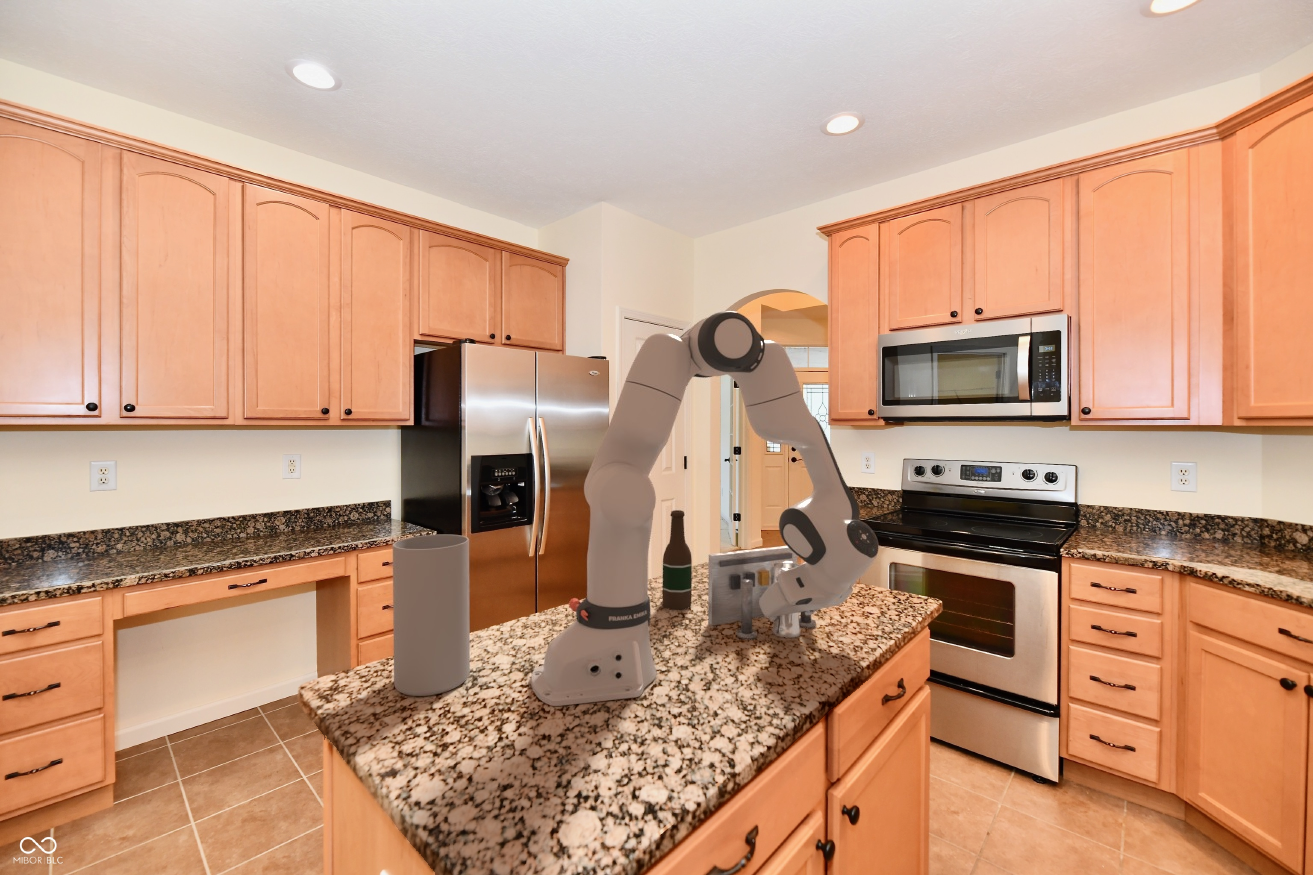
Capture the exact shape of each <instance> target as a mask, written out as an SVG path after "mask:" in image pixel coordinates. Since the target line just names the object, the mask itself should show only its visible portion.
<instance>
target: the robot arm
mask: <svg viewBox="0 0 1313 875" xmlns="http://www.w3.org/2000/svg"><path fill="white" fill-rule="evenodd" d="M726 375H728V376H729V377H731V379H733V380H734V382H735V383H736V385H737V386H738V388H739V390H740V393H741V397H742V401H743V404H744V409H745V411H746V412H745V413H746V416H747V418H748V423H749V424H750V426H751V428H752V430H753V432H754V433H755V435H757V436H758V437H760V438H761V439H763V440H765V441H766V442H769V443H771V444H772V443H773V444H777V445H785V446H790V447H792V448H794V449H795V450H796V451H797V452H798V453H799V455H800V457H801V459H802V462H803V463H804V465H805V468H806V471H807V473H808V476H809V478H810V481H811V483H812V493H811V494H810V495H809V496H808V497H806V498H804V499H803V500H800V501H798V502H796V503H795V504H793V505H791V506H790V507H788V508H787V509H785V510H783V511H782V513H781V515H780V517H779V521H778V528H779V533H780V537H781V539H782V541H783V542H784V544H785V546H788V547H789V548H790V549H791V550H792V551H793V552H794V553H795V554H796V555H797V557H798V558H800V559H801V560H802V561H803V563H801V565H799V566H797V567H795V568H792V569H789V570H786V571H783V572H781V573H780V574H779V575H778V576H777V579H778V581H776V582H775V583H773V584H772V585H771V586H770V587H769V588H768V589H767V590H766V591H765V593H764V594H763V595H762V597H761V598H760V600H759V605H760V607H761V610H762V612H763V614H764V615H765V617H764V618H767V619H768V621H769V622H774V621H777V620H778V619H779V618H780V617H779V616H780V615H786V614H792V613H798V612H803V611H804V612H805V614H806V615H811V616H812V615H814V614H815V613H816V612H817V611H820V610H821V609H825V608H831V607H832V608H833V607H837V606H840V605H841V604H842V605H843V603H845V602H846V601H847V599H848V598H849V597H850V596H851V595H852V593H853V592H854V591H853V590H854V589H853V587H854V585H855V584H857V582H858V580H859V579H860V578H862V576H864V574H865V573H867V571H868V570H869V569H870V568H871V566H872V565H873V564H874V562H875V561H876V558H877V556H878V552H879V540H878V537H877V536H876V534H875V532H874V531H873V529H872V528H871V527H870V526H869V525H868V524H867V523H866V522H864V521H861V520H860V517H861V516H860V514H861V513H860V506H859V502H858V500H857V498H856V497H855V495H854V494H853V492H852V491H851V489H850V487H849V486H848V484H847V483H846V480H845V479H844V476H843V474H842V473H841V470H840V468H839V465H838V462H837V460H836V459H837V458H836V457H835V454H834V452H833V450H832V447H831V444H830V442H829V440H828V438H827V435H826V433H825V430H824V429H823V426H822V424H821V423H820V422H819V420H818V419H817V418H816V417H815V416H814V415H813V414H812V413H811V412H810V409H809V408H808V405H807V404H806V403H807V402H806V401H805V398H804V395H803V392H802V389H801V385H800V383H799V379H798V376H797V373H796V371H795V368H794V366H793V364H792V362H791V359H790V358H789V355H788V354H787V351H786V350H785V348H784V346H783V345H782V344H780V343H779V342H778V341H772V340H765V338H764V337H763V335H762V334H761V333H760V332H758V331H757V329H756V327H755V326H754V324H753V323H752V321H751V320H750V319H749V318H747V317H746V316H745V315H743V314H742V313H740V312H737V311H731V310H729V311H728V310H727V311H720V312H716V313H713V314H712V315H709V316H708V317H705V318H702V319H701V320H699V321H698V322H697V323H695V324H694V325H693V326H692V327H690V328H689V329H687V330H686V331H685V332H684V333H683V334H681V336H677V335H674V334H671V333H665V332H661V333H660V332H659V333H654V334H652V335H650V336H648V337H647V338H646V339H645V340H644V342H643V344H642V345H641V347H640V349H639V350H638V352H637V354H636V356H635V358H634V360H633V362H632V364H631V366H630V368H629V371H628V373H627V375H626V378H625V380H624V383H623V386H622V389H621V392H620V395H619V398H618V400H617V403H616V406H615V408H614V412H613V414H612V417H611V419H610V422H609V425H608V427H607V429H606V431H605V434H604V435H603V438H602V439H601V443H600V445H599V447H598V448H597V450H596V453H595V455H594V458H593V459H592V460H593V461H592V463H591V466H590V467H589V470H588V473H587V476H586V477H585V481H584V483H583V485H584V486H583V492H584V493H583V494H584V496H585V500H586V502H587V503H588V505H589V511H590V512H589V513H590V516H589V533H588V534H589V535H588V547H587V548H588V549H587V554H586V555H587V556H586V568H587V569H586V594H587V595H586V597H585V598H584V599H583V600H582V601H581V602H580V600H579V599H578V598H576V597H574V598H571V599H570V601H569V602H568V607H569V608H570V609H571V611H572V612H574V613H576V619H575V621H573V622H571V624H570V625H569V626H568V627H567V628H565V629H564V630H562V631H561V632H560V633H559V634H558V635H557V636H556V637H555V638H553V639H552V640H551V641H550V642H549V644H548V645H547V648H546V651H545V655H544V662H543V665H540V666H537V667H535V668H534V669H533V671H532V674H531V677H530V678H531V679H530V685H531V689H532V691H533V692H534V694H535V696H536V697H537V698H538V699H539V700H540V701H541V702H543V703H544V704H547V705H549V706H552V707H560V706H570V705H577V704H588V703H595V702H605V701H614V700H622V699H631V698H637V697H640V696H641V695H643V693H644V689H646V687H647V686H648V685H649V684H651V683H652V682H653V681H655V678H656V677H657V670H656V665H655V662H654V659H653V654H652V648H651V639H650V631H649V627H650V626H651V612H652V611H651V599H650V596H649V595H648V590H649V589H648V588H649V587H648V584H649V583H648V582H649V581H648V580H649V579H648V578H649V577H648V575H649V574H648V570H649V569H648V568H649V567H648V565H649V564H648V561H649V560H648V559H649V548H650V542H651V537H652V536H651V535H652V528H653V520H654V511H655V508H656V503H657V502H656V500H657V498H656V491H655V487H654V484H653V482H652V480H651V478H650V476H649V475H650V474H651V471H652V469H653V467H654V465H655V464H656V461H657V460H658V457H659V456H660V454H661V452H662V451H663V449H664V448H665V446H666V445H667V444H668V441H669V439H670V436H671V432H672V430H673V427H674V424H675V422H676V419H677V416H678V413H679V410H680V407H681V406H682V405H681V404H682V402H683V399H684V396H685V393H686V389H687V387H688V385H689V383H690V381H691V380H692V378H700V379H701V378H704V379H705V378H712V377H721V376H722V377H723V376H726Z"/></svg>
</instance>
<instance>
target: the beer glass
mask: <svg viewBox="0 0 1313 875" xmlns="http://www.w3.org/2000/svg"><path fill="white" fill-rule="evenodd" d="M801 564H802V563H801ZM801 564H800V563H798V562H797V563H794V562H775V563H773V564H772V574H771V585H772V584H773V583H775V582H776V581H778V579H777V576H778V575H779V574H780V573H781V572H783V571H786V570H789V569H792V568H795V567H797V566H799V565H801ZM779 617H780V618H779V619H778V620H777V621H773V624H772V630H771V631H772V633H773V634H774V635H775V636H777V637H779V636H780V638H783V637H785V638H786V639H796V638H798V637H800V636H801V632H802V631H801V627H800V625H799V618H800V612H798V613H792V614H786V615H780V616H779ZM795 637H796V638H795ZM785 638H784V639H785Z"/></svg>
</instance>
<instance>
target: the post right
mask: <svg viewBox="0 0 1313 875" xmlns="http://www.w3.org/2000/svg"><path fill="white" fill-rule="evenodd" d="M799 625H800V629H807V628H810V629H814V627H815V626H816V627H817V623H816V621H815V620H814V619H812V615H806V614H805V612H804V611H803V612H800V613H799ZM816 627H815V628H816Z"/></svg>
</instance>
